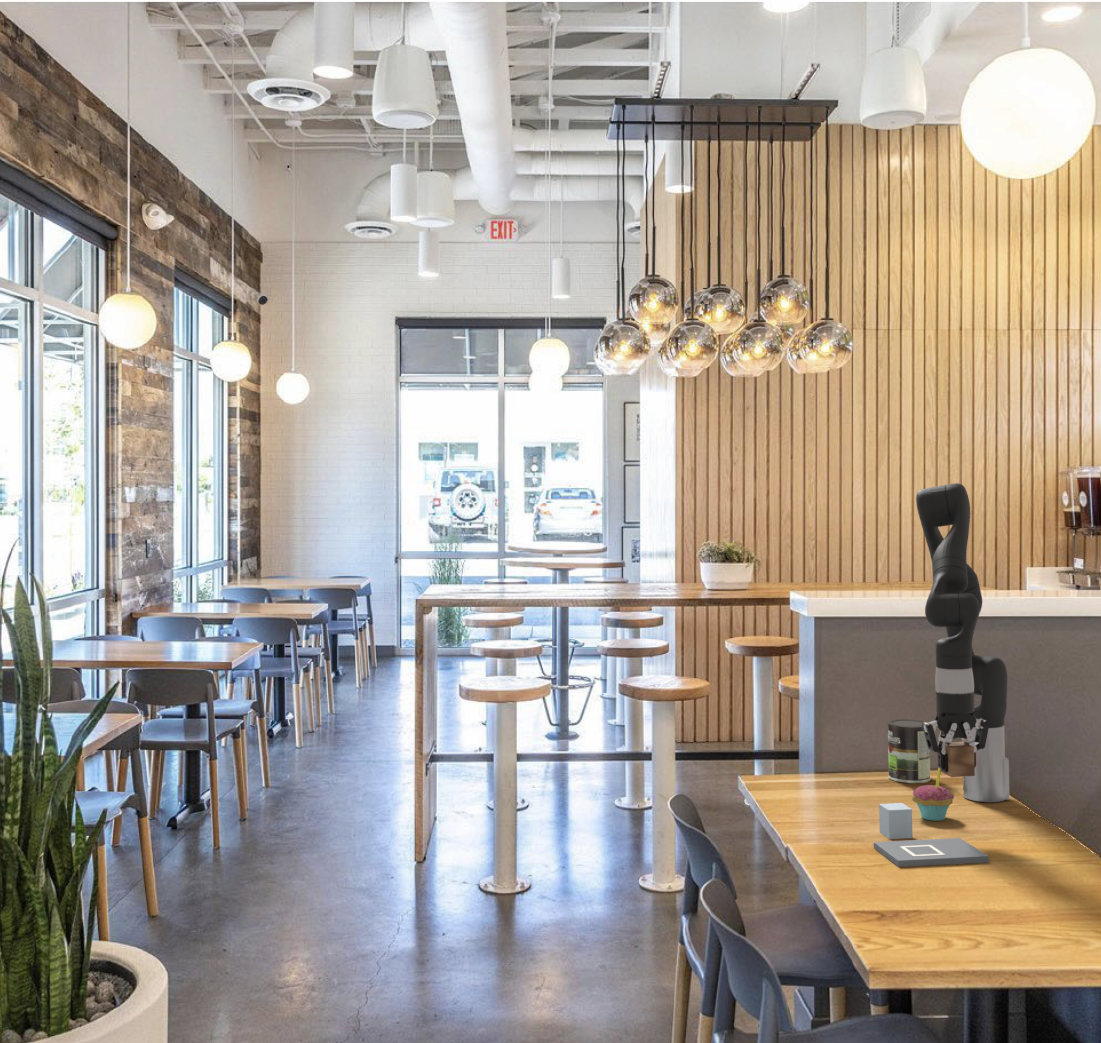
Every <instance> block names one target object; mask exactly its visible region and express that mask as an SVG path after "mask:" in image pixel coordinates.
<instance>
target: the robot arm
mask: <svg viewBox="0 0 1101 1043" xmlns="http://www.w3.org/2000/svg"><path fill="white" fill-rule="evenodd" d="M969 498H970V497H969V494H968V491H967V490H966V487H965V486H964V485H963V484H961V483H960V482H959V483H947V484H942V485H937V486H931V487H927V488H923V489H919V490H918V491H917V492H916V496H915V499H916V500H915V502H916V509H917V512H918V514H917V515H918V517H919V520H920V524H921V527H922V531H923V534H924V537H925V540H926V544H927V547H928V552H929V555H930V559H931V564H932V566H931V567H932V586H931V589H930V592H929V594H928V597H927V599H926V602H925V609H924V615H925V618H926V621H927V622H928V623H929V624H930V625H931V626H933V627H937V628H945V629H946V636H947V637H944V638H939V639H938V640H937V641H936V643H935V677H934V678H935V679H934V682H935V684H934V685H935V686H934V687H935V710H936V716H935V718H934V720H931V721H929V722H928V723H927V721H925V722H923V723H922V727H923V731H924V734H925V738H926V742H927V746H928V748H929V749H930V751H933V752H935V753H937V767H938V768H940V769H941V771H943V772H948V755H947V754H946V753H947V751H948V747H949V745H950V744H951V742H953V739H954V740H955V739H957V738H959V739H961V742H964V743H966V744H968V745H971V746H973V747H974V767H975V776H964V777H962V791H963V792H962V793H963V794H962V795H963V797H964V798H965V799H966V800H967V799H968V800H970V801H974V802H981V803H983V802H984V803H1000V802H1004V801H1009V800H1010V760H1009V758H1007V757H1006V752H1005V751H1006V750H1005V747H1006V745H1005V743H1006V742H1005V740H1006V739H1005V717H1006V714H1007V706H1008V705H1007V703H1008V702H1007V701H1008V700H1007V699H1008V698H1007V696H1008V695H1007V694H1008V670H1007V667H1006V664H1005V662H1004V661H1003V660H1002V659H1001V658H999V657H996V656H988V655H987V656H986V655H976V654H975V652H974V649H973V640H974V639H973V638H974V633H975V630H976V626H977V623H978V619H979V616H980V613H981V611H982V607H983V597H982V596H983V595H982V591H981V587H980V583H979V578H978V575H977V573H976V572H975V570H974V569H973V568H972V567H971V566H970V565H969V564H968V563H967V562H968V561H967V550H968V542H969V534H970V522H971V505H970V504H971V503H970V499H969ZM947 526H951V527H950V530H949V531H948V532H947V534H946V536H944V537H943V535H942V533H941V530H940V527H947ZM975 695H976V696H981V698H980V704H979V705H978V706H977V707H975ZM937 728H938V730H939V731H940V732H939V735H938V738H936V733H935V732H936V731H937ZM937 739H938V741H937Z"/></svg>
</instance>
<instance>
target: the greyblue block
mask: <svg viewBox="0 0 1101 1043" xmlns="http://www.w3.org/2000/svg"><path fill="white" fill-rule="evenodd" d="M878 809H879V810H878V818H879V819H878V820H879V833H880V834H882V835H883V836H884V837H885V838H887V839H888V840H898V839H899V840H900V839H913V834H914V833H913V809H912V808H911V807H909V806H908V805H906V804H904V803H903V802H894V803H879V804H878Z"/></svg>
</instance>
